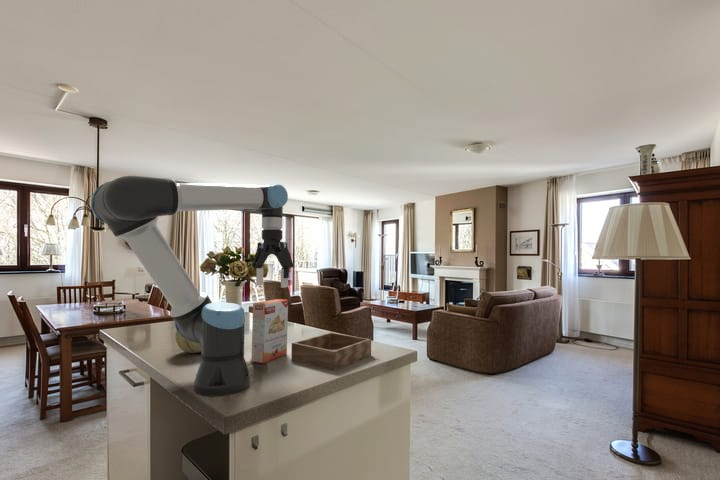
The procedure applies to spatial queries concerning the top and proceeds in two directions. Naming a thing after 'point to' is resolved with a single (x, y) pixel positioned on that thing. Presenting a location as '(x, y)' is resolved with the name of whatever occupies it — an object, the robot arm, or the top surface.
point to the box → (331, 350)
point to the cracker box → (269, 330)
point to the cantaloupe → (187, 344)
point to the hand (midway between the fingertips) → (271, 286)
